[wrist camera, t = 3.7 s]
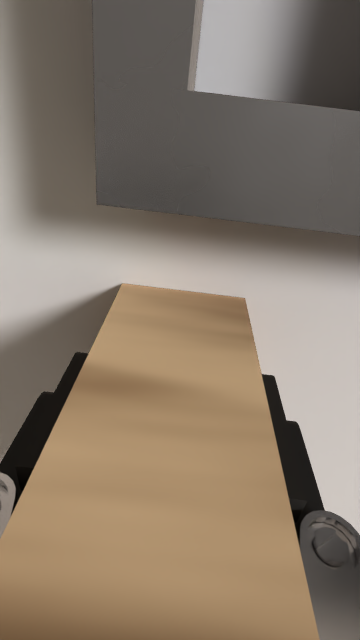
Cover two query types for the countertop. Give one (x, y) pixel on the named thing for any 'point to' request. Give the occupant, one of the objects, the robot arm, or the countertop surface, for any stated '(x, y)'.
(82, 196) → the countertop surface
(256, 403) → the peg
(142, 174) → the rail
